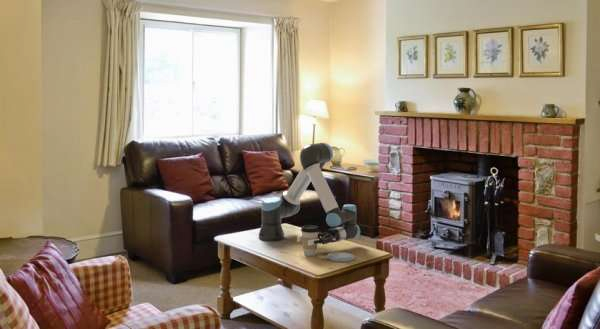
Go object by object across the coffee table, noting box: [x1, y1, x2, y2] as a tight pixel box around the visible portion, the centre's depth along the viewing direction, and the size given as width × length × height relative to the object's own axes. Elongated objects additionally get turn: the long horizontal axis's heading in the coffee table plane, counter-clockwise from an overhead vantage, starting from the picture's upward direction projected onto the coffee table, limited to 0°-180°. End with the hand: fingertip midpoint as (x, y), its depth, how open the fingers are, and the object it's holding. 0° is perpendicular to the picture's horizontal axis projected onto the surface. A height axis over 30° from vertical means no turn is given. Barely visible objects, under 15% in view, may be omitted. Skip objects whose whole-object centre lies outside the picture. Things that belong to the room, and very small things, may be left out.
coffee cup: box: [300, 224, 320, 257], centre depth 310 cm, size 10×10×15 cm
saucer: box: [327, 251, 355, 263], centre depth 304 cm, size 14×14×1 cm
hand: (302, 241), depth 307 cm, fingers closed on coffee cup, 9 cm apart
